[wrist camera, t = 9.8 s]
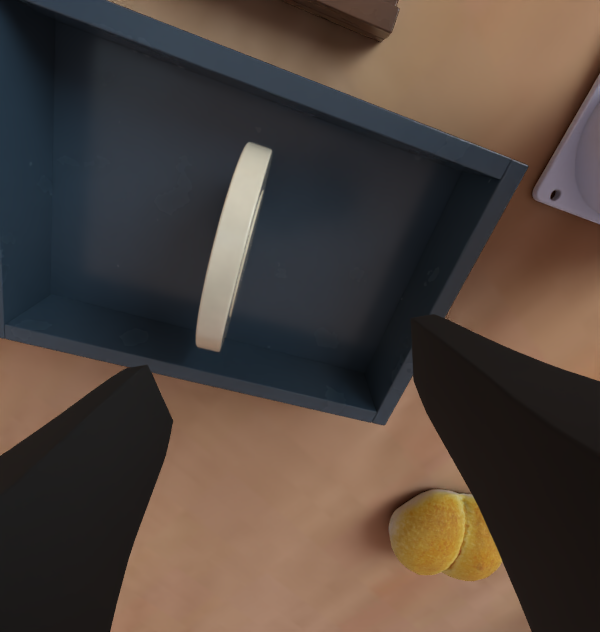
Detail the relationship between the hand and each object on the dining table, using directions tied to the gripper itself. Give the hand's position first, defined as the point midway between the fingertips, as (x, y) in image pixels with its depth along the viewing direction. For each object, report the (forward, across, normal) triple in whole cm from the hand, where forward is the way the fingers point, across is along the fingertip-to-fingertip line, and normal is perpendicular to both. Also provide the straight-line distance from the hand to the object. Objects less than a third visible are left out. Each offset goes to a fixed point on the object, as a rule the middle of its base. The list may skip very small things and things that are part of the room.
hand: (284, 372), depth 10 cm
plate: (+10, +2, -2) cm, 10 cm away
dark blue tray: (+10, +2, -2) cm, 11 cm away
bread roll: (+11, -8, +24) cm, 28 cm away
